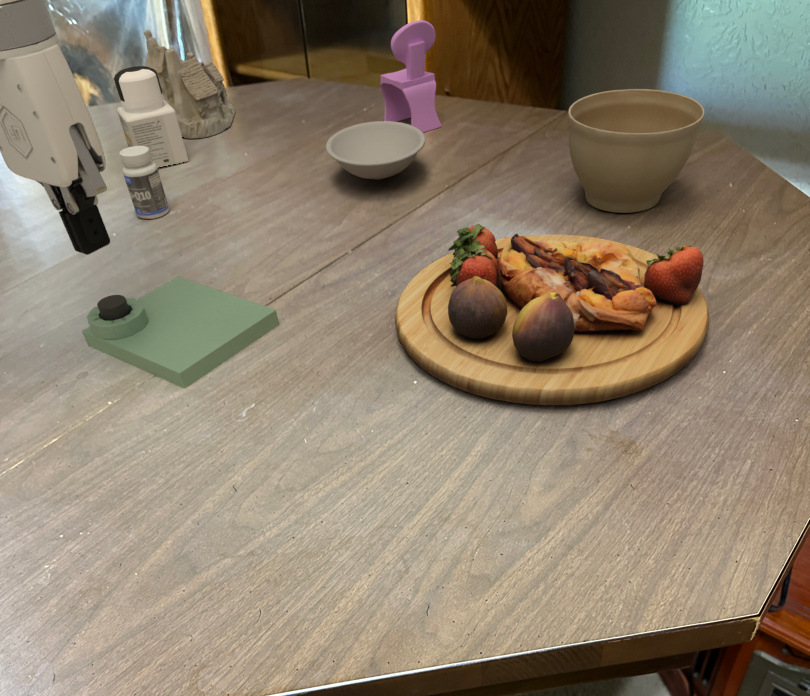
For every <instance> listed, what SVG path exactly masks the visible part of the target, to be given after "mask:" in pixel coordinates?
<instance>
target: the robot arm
mask: <svg viewBox="0 0 810 696" xmlns="http://www.w3.org/2000/svg"><path fill="white" fill-rule="evenodd" d="M53 23H54V22H53V20H52V18H51V15H50V13H49V10H48V8H47V4H46V2H45V0H0V155H1V156H2V159H3V161H4V163H5V165H6V167H7V169H9V171H10V172H12V173H13V174H15V175H17V176H18V177H22V178H25V179H28V180H32V181H35V182H37V183H38V184H40V185H41V186H42V188H44V191H45V192H46V194H47V196H48V198H49V200H50V202H51V204H52V206H53V208H54V209H55V210H57V211H58V215H59V217H60V219H61V221H62V224H63V226H64V228H65V231H66V233H67V235H68V238H69V240H70V242H71V245H72V247H73V249H74V251H75V252H78V253H81V254H84V255H86V256H89V255H91V254H92V253H96V252H97V251H99V250H101V249H102V248H104V247H107V246H109V245H110V244H111V238H110V236H109V234H108V231H107V228H106V225H105V222H104V219H103V218H102V217H103V216H102V215H101V212H100V210H99V207H98V205H99V198H98V195H100V194H103V193H105V192H106V191H107V190H108V187H107V185H106V182H105V180H104V179H103V177H102V174H101V173H102V172H103V171H105V169H106V166H107V160H106V156H105V152H104V148H103V145H102V143H101V140H100V136H99V134H98V131H97V129H96V126H95V124H94V120H93V118H92V116H91V113H90V111H89V109H88V106H87V104H86V101H85V99H84V97H83V94H82V92H81V90H80V87H79V85H78V83H77V80H76V78H75V76H74V74H73V72H72V69H71V68H70V65H69V64H68V61H67V60H66V58H65V56H64V54H63V52H62V49H61V48H60V46H59V44H58V43H59V40H60V39H59V37H58V33H57V32H56V29H55V26H54V24H53Z"/></svg>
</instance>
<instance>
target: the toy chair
mask: <svg viewBox="0 0 810 696" xmlns="http://www.w3.org/2000/svg"><path fill="white" fill-rule="evenodd" d="M436 36H437V35H436V29H435V27H434V26H433V24H431V23H430V22H429V21H427V20H424V19H418V20H414V21H411V22H409V23H407V24H405V25H403V26H401V28H399V29H398V30H397V31H395V32H394V34H393V36H392V38H391V40H390V49H391V52H392V54H393V55H394V58H395V59H396V60H397V61H398V62H401V63H402V64H403V65H405V68H403V69H400V70H398V71H394V72H387V73H384V74H381V75H380V82H379V85H380V90H381V93H382V95H383V101H384V116H383V121H392V122H400V121H403V120H407V119H410V125H412V126H414V127H416V128H418V129H419V130H421V131H422V132H423V133H426V132H429V131H433V130H436V129H439V128H442V123H441V121H440V119H439V116H438V113H437V111H436V105H435V104H436V103H435V100H436V92H437V91H436V90H437V82H436V78H435V75H436V74H435V73H433V72H429V71H425V69H426V68H425V67H426V65H425V64H426V54H427V53H428V52H429V50H430V49H431V48H432V47H433V46H434V44H435V43H436V42H435V41H436Z"/></svg>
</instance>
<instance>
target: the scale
mask: <svg viewBox="0 0 810 696" xmlns="http://www.w3.org/2000/svg"><path fill="white" fill-rule="evenodd" d="M125 298H126V297H125ZM126 301H127V303H128V306H129V309H130V314H129V315H127V316H125V317H123V318H121V319H117V320H113V321H105V320H103V318H102V316H101V314H100V311H99V309H98V306H97V305H96V306H94V307H93V308H92V309H91V310H90V311H89V313H87V315H86V318H87V322H88V325H89V326H88V327H86V328H85V329H83V330H81V333H82V335H83V337H84V339H85V342H86V344H87V346H88V347H90V348H93V349H95V350H97V351H99V352H101V353H103V354H106V355H108V356H110V357H113V358H115V359H117V360H119V361H122V362H124V363H126V364H128V365H131V366H132V367H136V368H137V369H139V370H142V371H145V372H147V373H148V374H151V375H154V376H156V377H158V378H160V379H163V380H165V381H167V382H169V383H171V384H174V385H176V386H178V387H181V388H183V389H186V388H188V387H189V386H191V385H192V384H194V383H195V382H196V381H197V382H198V380H200V379H201V378H203V377H204V376H207V374H209V373H210V372H212V371H213V370H215V369H216V368H218V367H219V366H220V365H222V364H223V363H225V362H226V361H228V360H229V359H231V358H233V357H234V356H236V355H237V354H239V353H240V352H241V351H243V350H244V349H246V348H247V347H249V346H250V345H252V344H253V343H255V342H256V341H258V340H259V339H261V338H262V337H263V336H265V335H267V334H268V333H269V332H271V331H272V330H274V329H276V327H278V326H280V322H279V318H278V317H279V316H278V313H277V310H276V309H275V308H273V307H269V306H266V305H264V304H260V303H257V302H254V301H252V300H249V299H245V298H243V297H239V296H237V295H234V294H231V293H229V292H225V291H222V290H220V289H216V288H213V287H211V286H208V285H204V284H202V283H199V282H195V281H193V280H189V279H186V278H184V277H182V276H177V277H175V278H173V279H171V280H169V281H168V282H165V283H164V284H162V285H161V286H159V287H157V288H155V289H154V290H152V291H150V292H148V293H146V294H144V295H143V296H141V297H139V298H138V299H135V298H133V297H127V298H126Z"/></svg>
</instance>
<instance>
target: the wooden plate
mask: <svg viewBox="0 0 810 696" xmlns="http://www.w3.org/2000/svg"><path fill="white" fill-rule="evenodd" d="M456 233H457V236H458V238H456V239H455V240H453V245H451V246H449V248H448V250H447V252H449V251H453V252H451V253H448V254H446V255H444V256H442V257H440V258H438V259H436V260H434V261H433V262H430V263H429V264H428V265H426V266H425V267H424V268H422V269H421V270H420V271H419V272H418V273H417V274H416V275H415V276H414V277H413V278H412V279H410V281H409V282H408V283H407V285H406V286H405V288H404V289H403V290H402V293H401V294H400V296H399V298H398V300H397V303H396V308H395V313H394V325H395V331H396V335H397V338H398V339H399V343H400V344H401V346H402V348H404V351H405V352H406V353H407V354H408V356H409V358H411V359H412V360H413V361H414V362H415V363H416V364H417V365H418V366H419V367H420V368H422V370H424V371H425V372H426V373H428V374H430V375H431V376H433V377H434V378H436V379H438V380H440V381H441V382H443V383H445V384H447V385H449V386H452V387H454V388H456V389H459V390H462V391H464V392H467V393H469V394H474V395H477V396H481V397H484V398H488V399H492V400H496V401H497V400H498V401H503V402H508V403H515V404H525V405H536V406H537V405H538V406H571V405H572V406H573V405H583V404H584V405H585V404H591V403H601V402H605V401H610V400H614V399H618V398H622V397H626V396H628V395H632V394H636V393H638V392H641V391H644V390H645V389H648V388H650V387H653V386H656V385H657V384H660V383H662V382H664V381H665V380H667V379H669V378H670V377H671V376H673V375H675V374H677V373H678V372H679V371H680V370H682V369H683V368H684V367H686V365H688V364H689V362H691V361H692V359H693V358H694V357H695V356H696V354H697V353H698V352H699V351H700V350H701V348H702V346H703V345H704V342H705V339H706V337H707V334H708V332H709V327H710V312H709V311H710V310H709V307H708V303H707V301H706V298H705V296H704V294H703V293H702V291H701V290H700V288H699V285H700V283H701V280H702V276H703V269H704V263H705V262H704V255H703V253H702V250H700V249H699V248H698V247H695V246H692V245H691V244H689V245H684V244H682V246H681V247H680V246H675V249H670V248H669V247H668V248H667V249H668V251H667V252H666V253H667V255H660V254H658V253H656V254H654V253H652V252H650V251H647V250H644V249H641V248H639V247H636V246H633V245H630V244H626V243H623V242H619V241H615V240H610V239H604V238H600V237H599V238H598V237H593V236H587V235H586V236H585V235H576V234H575V235H573V234H553V233H552V234H527V235H519V234H518V233H514V235H513V236H509V237H501V238H497V239H496V237H495V235H494V233H493V232H492V231H490V230H489V229H488V228H487V227H486V226H483V225H481V224H480V223H477V224H475V225H471V226H470V227H468V226H466V227H465V226H464V227H463V228H459V229H458V230H456Z"/></svg>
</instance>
